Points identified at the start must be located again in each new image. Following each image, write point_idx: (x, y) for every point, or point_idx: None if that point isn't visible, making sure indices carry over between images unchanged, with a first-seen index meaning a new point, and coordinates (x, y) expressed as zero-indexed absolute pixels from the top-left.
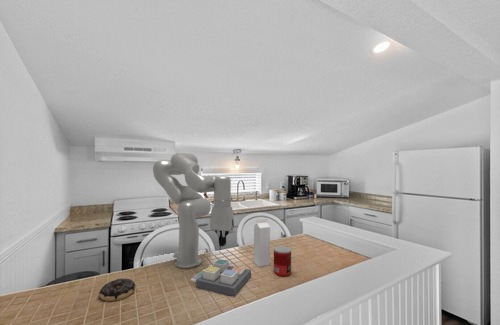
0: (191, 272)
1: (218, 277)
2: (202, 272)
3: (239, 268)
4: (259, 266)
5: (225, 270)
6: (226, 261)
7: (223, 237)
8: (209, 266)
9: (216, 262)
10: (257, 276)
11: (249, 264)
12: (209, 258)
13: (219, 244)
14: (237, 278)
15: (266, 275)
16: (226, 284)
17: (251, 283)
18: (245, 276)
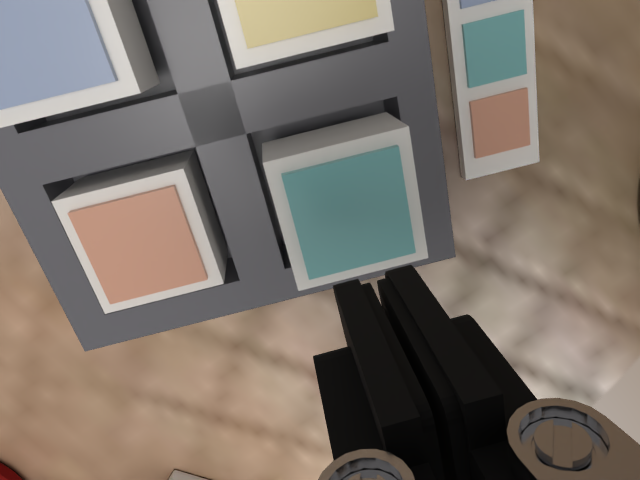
0: (621, 48)
1: (270, 69)
2: (511, 91)
3: (142, 277)
4: (173, 473)
5: (120, 53)
6: (303, 259)
7: (373, 463)
8: (389, 17)
9: (381, 156)
10: (67, 351)
11: (270, 456)
12: (629, 346)
13: (410, 278)
14: (36, 129)
15: (23, 404)
16: (156, 62)
17: (8, 231)
18: (19, 220)
